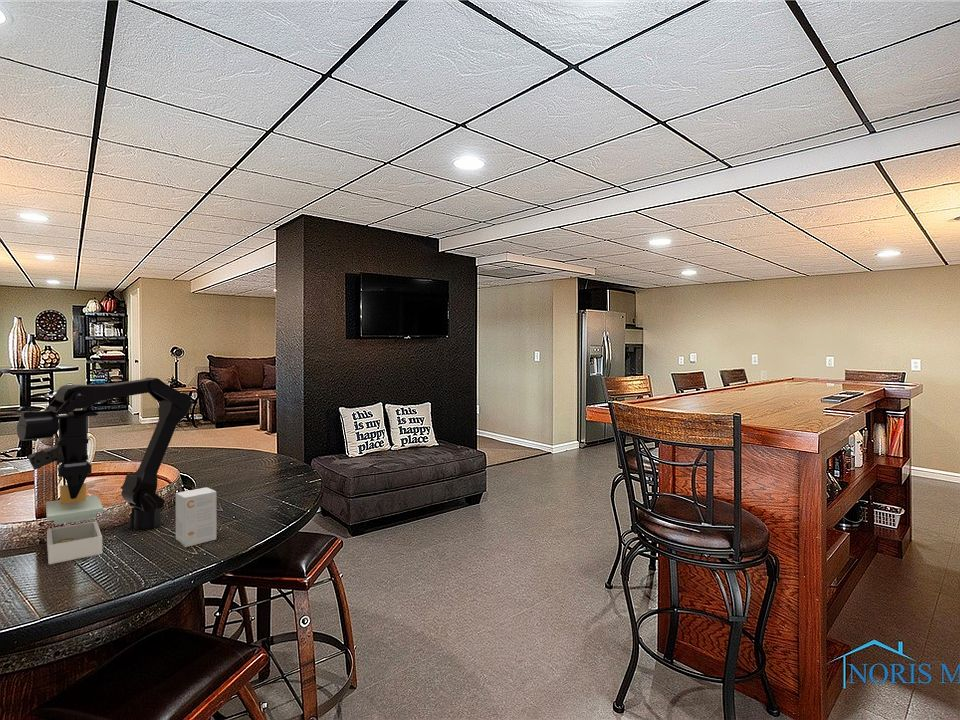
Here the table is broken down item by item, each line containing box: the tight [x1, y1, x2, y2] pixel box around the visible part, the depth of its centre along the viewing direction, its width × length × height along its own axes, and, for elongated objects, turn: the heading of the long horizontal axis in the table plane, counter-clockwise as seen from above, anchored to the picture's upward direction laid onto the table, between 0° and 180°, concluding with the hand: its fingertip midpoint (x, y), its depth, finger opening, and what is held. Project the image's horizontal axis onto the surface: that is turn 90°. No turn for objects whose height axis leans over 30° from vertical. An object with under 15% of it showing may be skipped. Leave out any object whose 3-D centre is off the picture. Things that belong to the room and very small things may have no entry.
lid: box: [45, 482, 104, 526], centre depth 127 cm, size 14×10×6 cm
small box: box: [175, 487, 218, 548], centre depth 137 cm, size 8×6×13 cm
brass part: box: [58, 538, 74, 543], centre depth 129 cm, size 3×3×2 cm
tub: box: [46, 520, 103, 565], centre depth 128 cm, size 14×10×5 cm
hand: (73, 497), depth 130 cm, fingers closed on lid, 2 cm apart
